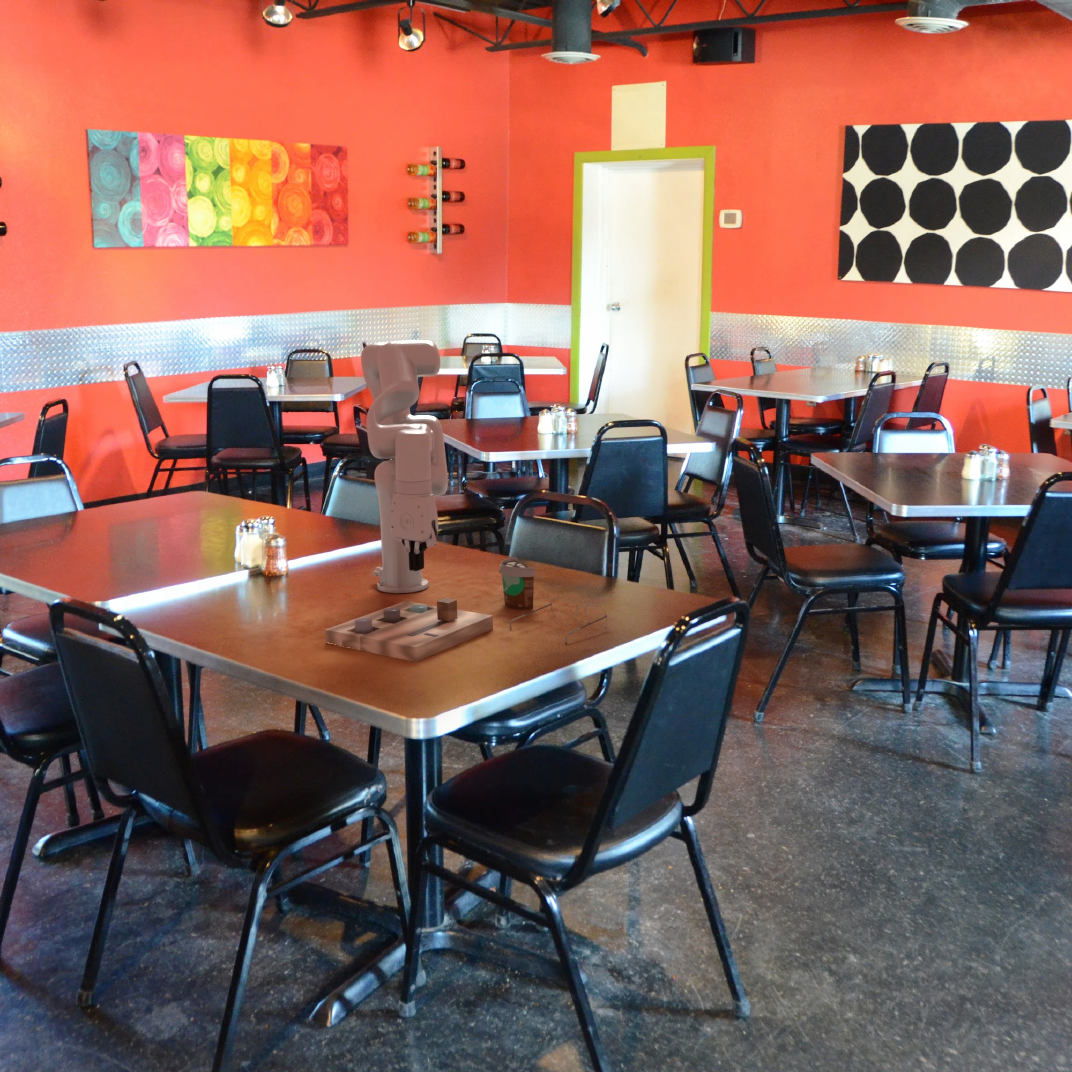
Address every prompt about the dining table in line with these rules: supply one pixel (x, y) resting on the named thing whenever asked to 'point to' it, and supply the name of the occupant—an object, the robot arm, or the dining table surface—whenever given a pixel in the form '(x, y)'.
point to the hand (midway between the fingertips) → (416, 569)
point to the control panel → (411, 632)
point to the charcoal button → (391, 615)
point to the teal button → (419, 608)
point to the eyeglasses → (572, 618)
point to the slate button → (363, 625)
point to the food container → (517, 584)
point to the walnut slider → (447, 609)
